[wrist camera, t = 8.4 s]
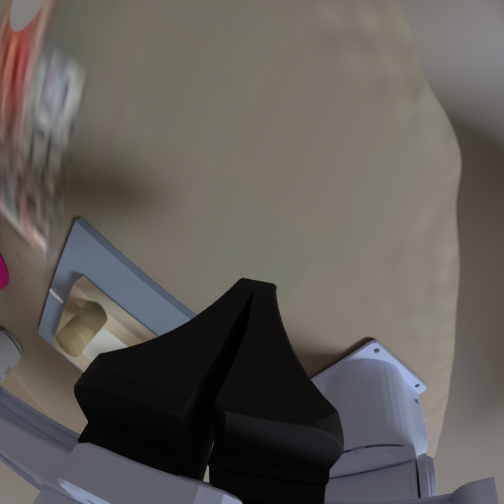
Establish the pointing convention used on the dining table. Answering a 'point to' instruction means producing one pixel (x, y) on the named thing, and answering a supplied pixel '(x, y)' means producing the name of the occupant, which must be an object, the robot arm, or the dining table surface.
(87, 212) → the dining table surface
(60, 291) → the board
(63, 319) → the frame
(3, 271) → the pepper mill
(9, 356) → the energy drink can
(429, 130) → the dining table surface
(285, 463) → the robot arm
